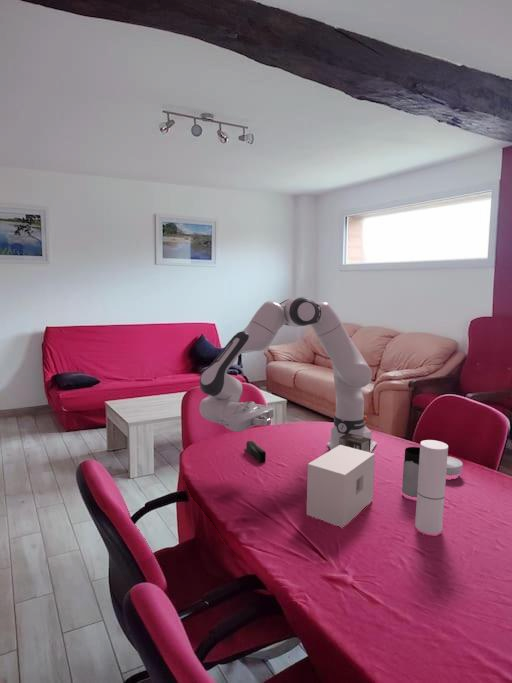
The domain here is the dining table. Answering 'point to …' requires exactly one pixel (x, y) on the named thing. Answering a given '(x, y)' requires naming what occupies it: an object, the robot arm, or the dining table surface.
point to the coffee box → (355, 442)
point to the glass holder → (411, 471)
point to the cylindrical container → (431, 486)
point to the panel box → (340, 484)
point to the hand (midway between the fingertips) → (268, 422)
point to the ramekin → (453, 466)
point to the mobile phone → (256, 451)
